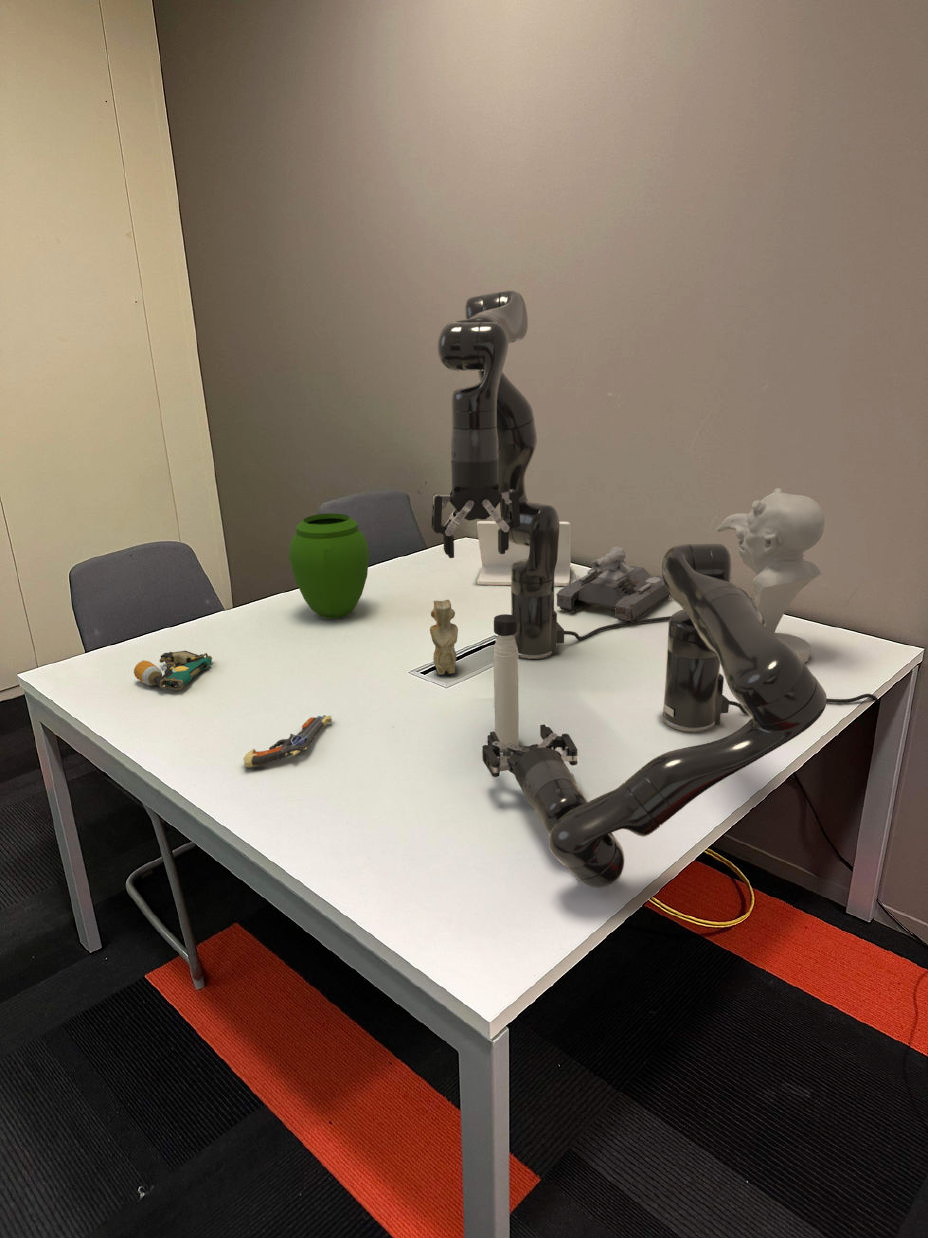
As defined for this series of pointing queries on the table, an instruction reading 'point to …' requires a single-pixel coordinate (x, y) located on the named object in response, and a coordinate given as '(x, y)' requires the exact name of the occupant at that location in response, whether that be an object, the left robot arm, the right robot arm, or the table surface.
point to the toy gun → (288, 743)
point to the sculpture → (444, 637)
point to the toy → (615, 588)
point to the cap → (505, 625)
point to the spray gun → (172, 669)
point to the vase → (329, 563)
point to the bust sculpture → (779, 554)
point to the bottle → (506, 690)
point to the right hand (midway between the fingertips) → (517, 733)
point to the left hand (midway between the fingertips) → (476, 555)
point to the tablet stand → (516, 556)
